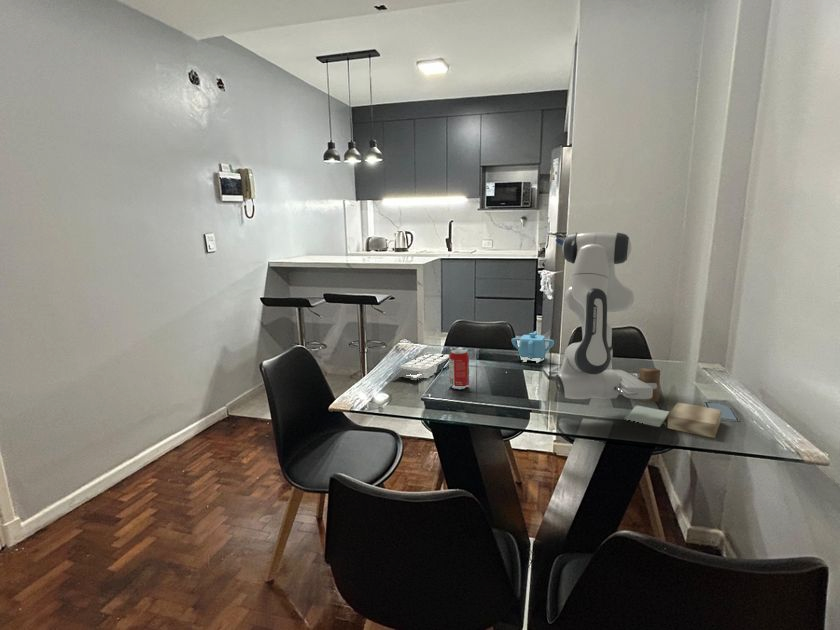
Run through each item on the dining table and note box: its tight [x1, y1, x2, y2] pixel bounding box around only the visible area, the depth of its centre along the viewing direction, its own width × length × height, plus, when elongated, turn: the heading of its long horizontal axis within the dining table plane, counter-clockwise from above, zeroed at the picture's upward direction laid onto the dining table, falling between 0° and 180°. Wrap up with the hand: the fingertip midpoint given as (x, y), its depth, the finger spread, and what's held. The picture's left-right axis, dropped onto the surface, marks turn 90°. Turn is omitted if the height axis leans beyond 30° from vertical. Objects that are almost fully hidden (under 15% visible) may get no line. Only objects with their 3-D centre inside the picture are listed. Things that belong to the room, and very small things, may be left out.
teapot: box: [511, 330, 555, 359], centre depth 219 cm, size 18×16×14 cm
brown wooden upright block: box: [638, 367, 661, 403], centre depth 144 cm, size 5×3×10 cm, turn 91°
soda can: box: [448, 348, 470, 386], centre depth 178 cm, size 8×8×15 cm
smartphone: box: [703, 401, 740, 423], centre depth 147 cm, size 7×1×15 cm
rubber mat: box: [624, 405, 670, 428], centre depth 145 cm, size 10×14×1 cm
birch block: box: [666, 401, 722, 439], centre depth 137 cm, size 12×14×4 cm
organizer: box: [399, 353, 449, 378], centre depth 203 cm, size 13×5×35 cm
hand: (651, 383), depth 144 cm, fingers closed on brown wooden upright block, 3 cm apart
